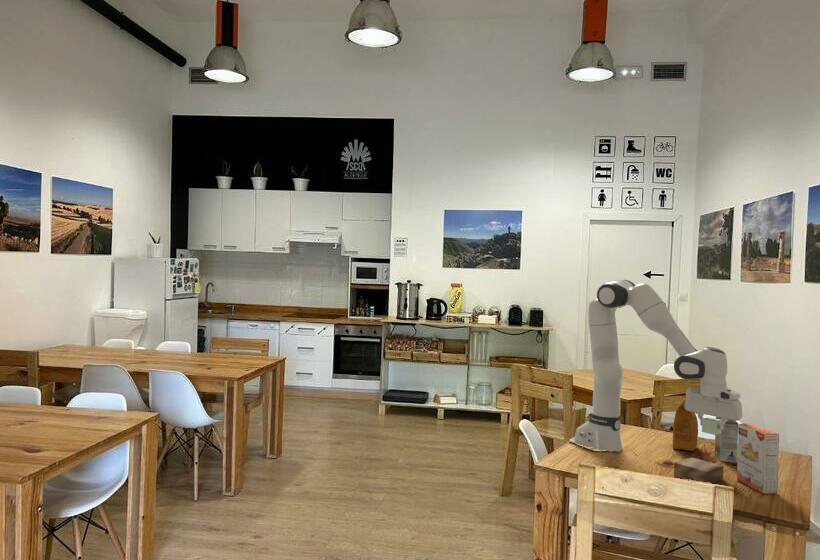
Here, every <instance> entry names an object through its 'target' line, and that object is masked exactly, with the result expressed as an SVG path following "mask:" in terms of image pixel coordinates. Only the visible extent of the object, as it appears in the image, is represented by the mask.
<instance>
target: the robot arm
mask: <svg viewBox="0 0 820 560" xmlns="http://www.w3.org/2000/svg"><path fill="white" fill-rule="evenodd" d="M625 306H630V307H631V308H632V309H633V310H634V311H635V313H636V315H637V316H638V317H639V320H641V322H642V323H643V325H645V327H646V328H647V329H648V330H650V331H652V332H655V333H656V334H659V335H662V336H663V337H664V338H665V339H666V340H667V341H668V342H669V343H670V345H671V346H672V348H673V349H674V351H675V352H676V353H677V355H678V356H679V357H677V358H676V359H675V360H674V363H673V370H674V373H675V374H676V375H677V376H678V377H679V378H681V379H683V380H688V381H689V380H697V379H698V380H700V382H699V383H700V388H699V387H693V386H690V387H688V388H687V389H686V390H685V398H686V400H685V409H686V410H687V411H691V412H695V414H696V413H697V419H699V421H700V426H702V419H703V418H704V415H706V416H709V417H710V416H711V417H715V418H716V417H720V418H721V421H722V422H721V424H718V427H717V429H720V430H723V429H724V424H725V423H726V422H727V419H729V420H734V421H736V422H737V421H740V420H741V419H742V417H743V406H742V402H741V400H740V398H741V394H740V392H738V391H736V390H735V389H731V388H730V387H728V386H727V385H728V384H727V375H728V358H727V353H726V352H724V350H722V349H719V348H717V347H711V346H705V347H703V348H702V349H700V350H698V349H696V348H695V347H694V345H692V343H691V342H690V341H689V339H688V337H686V335H685V333H684V332H683V331H682V330H681V328H680V327H679V326H678V324H677V322H676V320H675V319H674V317H673V315H672V314H671V312H670V310H669V309H668V307H667V305H666V304H665V302H664V301H663V299H662V298H661V296H659V294H658V293H657V292H656V290H655V289H654V288H653V287H652V286H650V284H647V283H639V284H635V283H634V282H633V281H630V280H627V279H616V280H612V281H609V282H605V283H603V284H601V286H600V287H598V289H597V291H596V298H594V299H592V300H591V301H590V302H589V304H588V311H587V312H588V329H589V338H590V349H591V360H592V361H591V362H592V370H593V372H594V373H593V374H594V379H593V380H594V381H593V390H592V391H593V393H592V412H590V413H587V414H586V417H587V418H589V419H588V421H585V423H582V424H581V425H579V426H578V427H576V429H575V431H574V432H575V433H574V437H572V438H570V439H569V441H568V442H569V443H570V441H571V442H573V443H577V444H580V445H583V446H587V447H593V448H591V449H599V450H606V451H619V452H621V451H620V450H622V449H623V448H624V447H623V446H622V445H623V444H622V440H621V439H622V438H621V422H622V421H621V420H622V419H621V415H620V413H621V394H622V393H621V392H622V385H623V375H624V374H623V367H622V365H621V364H620V359H619V337H618V329H617V322H616V321H617V320H616V311H617V309H620V308H623V307H625ZM573 443H572V444H573ZM623 450H624V449H623ZM623 450H622V451H623Z"/></svg>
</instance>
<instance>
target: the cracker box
mask: <svg viewBox="0 0 820 560" xmlns="http://www.w3.org/2000/svg"><path fill="white" fill-rule="evenodd" d="M779 444H780V434H779V433H777V432H774V431H773V430H769V429H767V428H765V427H762V426H760V425H757V424H755V423H738V445H737V463H736V464H737V467H736V468H737V471H736V480H737V481H738V482H740V483H742V484H744V485H746V486H747V487H749V488H751V489H753V490H755V491H756V492H758V493H759V494H762V495H772V494H774V495H775V494H778V490H779V489H778V488H779V487H778V486H779V485H778V481H779V480H778V479H779V450H780V449H779V448H780V445H779Z"/></svg>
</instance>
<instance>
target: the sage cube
mask: <svg viewBox="0 0 820 560" xmlns="http://www.w3.org/2000/svg"><path fill="white" fill-rule="evenodd" d="M721 422H722V421H721V420H720V419H716V417H715V418H714V417H712V416H711V417H710V416H707V417H703V419H702V425H701V432H702V433H704V434H709V435H713V436H715V435H717V434H720V433H722V430H720V429H717V427H718V424H721Z"/></svg>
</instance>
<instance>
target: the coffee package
mask: <svg viewBox="0 0 820 560" xmlns="http://www.w3.org/2000/svg"><path fill="white" fill-rule="evenodd" d="M682 399H683V402H682V403H681V404H680V405H679V406H678V408H677V409H676V411H675V414H674V421H673V428H672V444H671V445H672V449H673V450H679V451H688V452H691V451H692V452H694V451H695V450H696V448H697V445H698V438H699V422H698V416H697V415H696V412H691V411H687V410H686V409H685V400H686V397H683V398H682Z"/></svg>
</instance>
